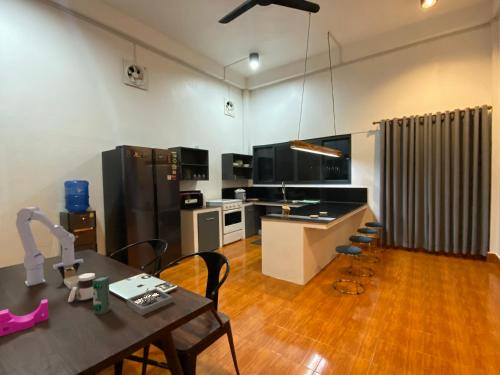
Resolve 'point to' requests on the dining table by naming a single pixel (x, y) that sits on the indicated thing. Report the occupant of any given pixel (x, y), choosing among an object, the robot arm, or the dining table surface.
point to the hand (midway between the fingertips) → (69, 277)
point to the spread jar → (83, 288)
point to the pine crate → (69, 272)
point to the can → (101, 295)
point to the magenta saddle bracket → (22, 319)
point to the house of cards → (148, 299)
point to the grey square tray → (146, 309)
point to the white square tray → (72, 281)
